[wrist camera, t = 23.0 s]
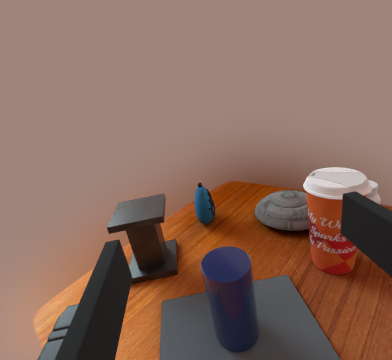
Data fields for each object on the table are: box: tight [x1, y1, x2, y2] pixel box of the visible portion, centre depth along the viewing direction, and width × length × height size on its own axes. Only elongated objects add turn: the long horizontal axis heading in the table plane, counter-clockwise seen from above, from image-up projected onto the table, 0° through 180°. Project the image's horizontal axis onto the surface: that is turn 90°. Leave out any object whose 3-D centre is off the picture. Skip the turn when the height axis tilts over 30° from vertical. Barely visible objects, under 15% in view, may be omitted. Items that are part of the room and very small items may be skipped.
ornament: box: [195, 183, 215, 224], centre depth 55 cm, size 8×5×10 cm, turn 0°
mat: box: [160, 275, 340, 360], centre depth 31 cm, size 20×14×1 cm
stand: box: [107, 194, 178, 284], centre depth 44 cm, size 9×9×12 cm
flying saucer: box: [255, 190, 309, 231], centre depth 52 cm, size 15×15×6 cm
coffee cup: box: [303, 167, 373, 275], centre depth 36 cm, size 8×8×15 cm
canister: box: [201, 247, 259, 353], centre depth 29 cm, size 6×6×11 cm
